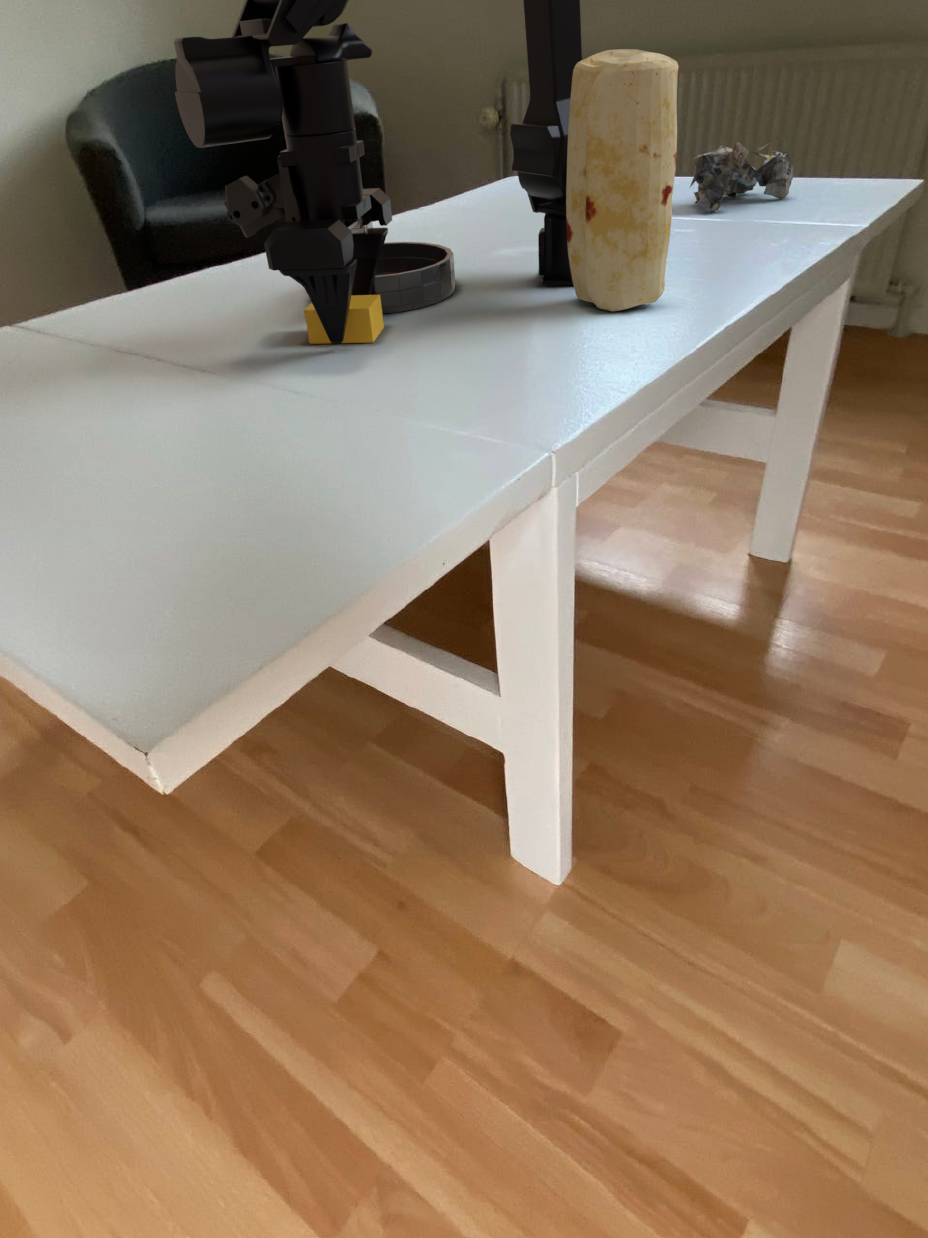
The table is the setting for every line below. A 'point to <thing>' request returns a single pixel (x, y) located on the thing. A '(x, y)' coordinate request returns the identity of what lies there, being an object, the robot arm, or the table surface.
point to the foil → (738, 175)
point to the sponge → (350, 321)
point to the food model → (621, 176)
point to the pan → (413, 275)
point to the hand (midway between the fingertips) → (348, 327)
